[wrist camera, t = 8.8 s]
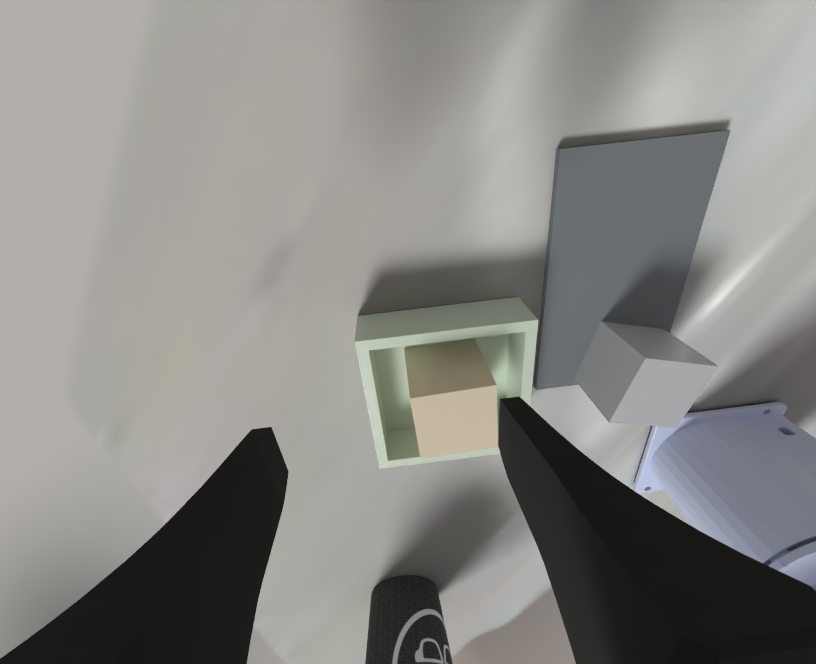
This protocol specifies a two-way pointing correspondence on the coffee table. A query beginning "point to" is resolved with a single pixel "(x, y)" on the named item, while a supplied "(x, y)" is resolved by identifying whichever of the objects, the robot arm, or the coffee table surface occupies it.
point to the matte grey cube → (642, 375)
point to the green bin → (395, 331)
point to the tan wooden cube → (452, 398)
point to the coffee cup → (406, 623)
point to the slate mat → (620, 240)
